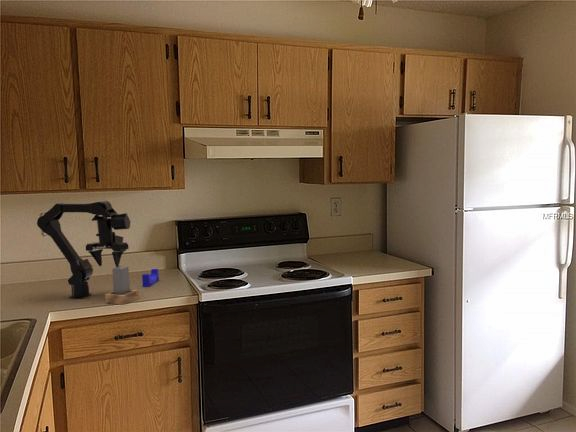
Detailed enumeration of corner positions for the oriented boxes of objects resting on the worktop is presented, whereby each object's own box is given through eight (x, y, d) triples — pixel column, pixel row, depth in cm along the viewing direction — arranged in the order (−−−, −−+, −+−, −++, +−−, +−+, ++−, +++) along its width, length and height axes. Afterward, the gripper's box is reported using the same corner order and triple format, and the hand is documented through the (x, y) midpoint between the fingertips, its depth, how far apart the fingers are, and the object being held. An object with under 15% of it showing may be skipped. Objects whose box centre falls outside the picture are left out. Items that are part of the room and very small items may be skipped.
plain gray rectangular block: (114, 299, 198) (112, 268, 197) (121, 296, 202) (119, 266, 201) (123, 299, 197) (121, 269, 195) (130, 296, 201) (128, 266, 199)
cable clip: (150, 280, 233) (149, 268, 232) (158, 280, 232) (158, 268, 232) (139, 287, 221) (139, 274, 220) (149, 287, 220) (148, 274, 220)
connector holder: (105, 302, 197) (104, 294, 196) (120, 296, 206) (119, 288, 205) (124, 304, 194) (123, 296, 193) (138, 298, 202) (138, 290, 202)
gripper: (135, 227, 207) (138, 262, 209) (101, 227, 214) (105, 261, 216) (117, 231, 197) (121, 268, 198) (82, 231, 204) (86, 267, 205)
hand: (108, 266), depth 205 cm, fingers open, 9 cm apart
